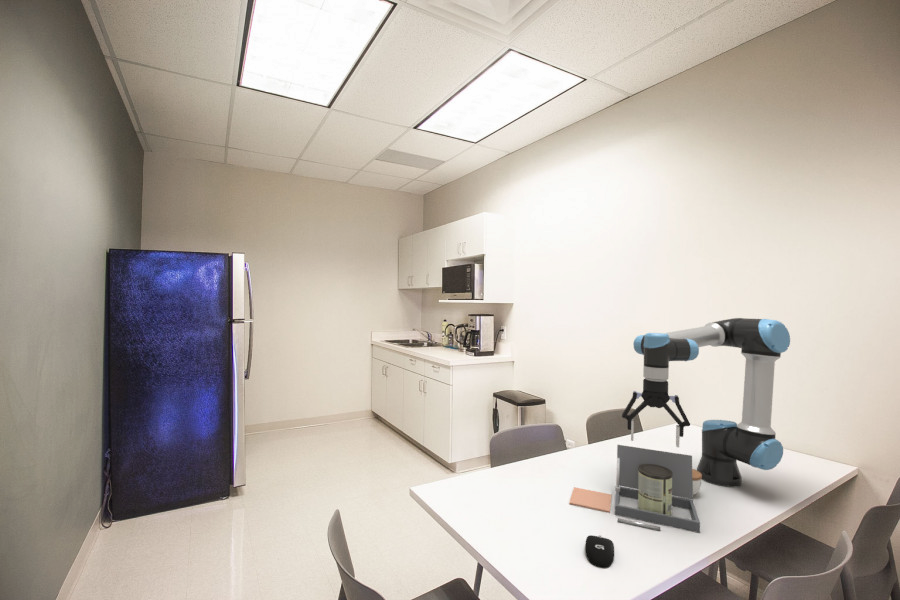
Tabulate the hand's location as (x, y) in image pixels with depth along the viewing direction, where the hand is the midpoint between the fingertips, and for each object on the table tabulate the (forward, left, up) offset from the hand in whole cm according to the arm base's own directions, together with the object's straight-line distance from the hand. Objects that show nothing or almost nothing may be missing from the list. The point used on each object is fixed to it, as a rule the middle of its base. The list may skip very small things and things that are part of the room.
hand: (654, 442), depth 136 cm
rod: (+5, +12, -23) cm, 26 cm away
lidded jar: (-11, -21, -23) cm, 33 cm away
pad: (+20, +1, -23) cm, 30 cm away
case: (0, -2, -23) cm, 23 cm away
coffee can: (0, 0, -23) cm, 23 cm away
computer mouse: (+15, +33, -23) cm, 43 cm away
